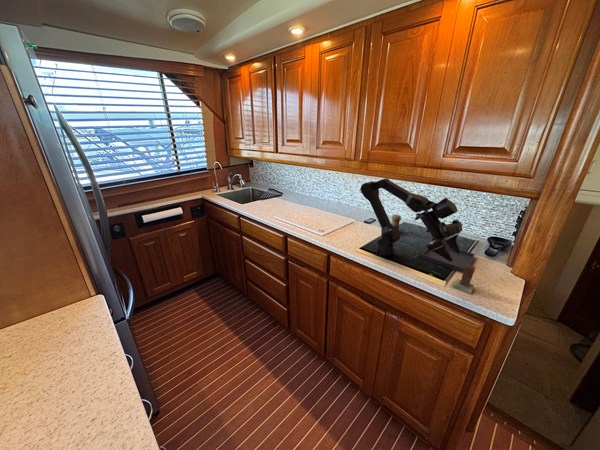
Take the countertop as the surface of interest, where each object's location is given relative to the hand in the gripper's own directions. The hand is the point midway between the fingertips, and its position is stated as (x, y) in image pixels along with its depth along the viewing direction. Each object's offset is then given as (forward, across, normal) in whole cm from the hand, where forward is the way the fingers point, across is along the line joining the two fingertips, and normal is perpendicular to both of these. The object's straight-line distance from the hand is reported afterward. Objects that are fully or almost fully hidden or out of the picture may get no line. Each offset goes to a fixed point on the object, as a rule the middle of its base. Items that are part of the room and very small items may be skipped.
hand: (455, 257), depth 95 cm
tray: (+3, +21, +14) cm, 25 cm away
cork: (-20, +29, +37) cm, 51 cm away
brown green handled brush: (+12, 0, +4) cm, 13 cm away
